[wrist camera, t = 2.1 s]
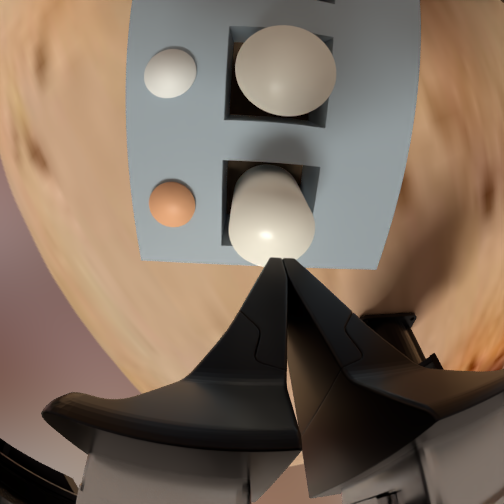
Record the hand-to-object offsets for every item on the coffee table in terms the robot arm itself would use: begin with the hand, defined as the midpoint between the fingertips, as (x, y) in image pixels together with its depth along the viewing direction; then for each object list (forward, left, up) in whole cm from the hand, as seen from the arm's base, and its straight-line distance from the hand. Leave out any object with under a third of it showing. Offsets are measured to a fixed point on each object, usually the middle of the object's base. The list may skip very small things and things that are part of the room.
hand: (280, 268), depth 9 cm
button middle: (0, -7, -7) cm, 9 cm away
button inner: (0, 0, -7) cm, 7 cm away
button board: (0, -7, -9) cm, 11 cm away
